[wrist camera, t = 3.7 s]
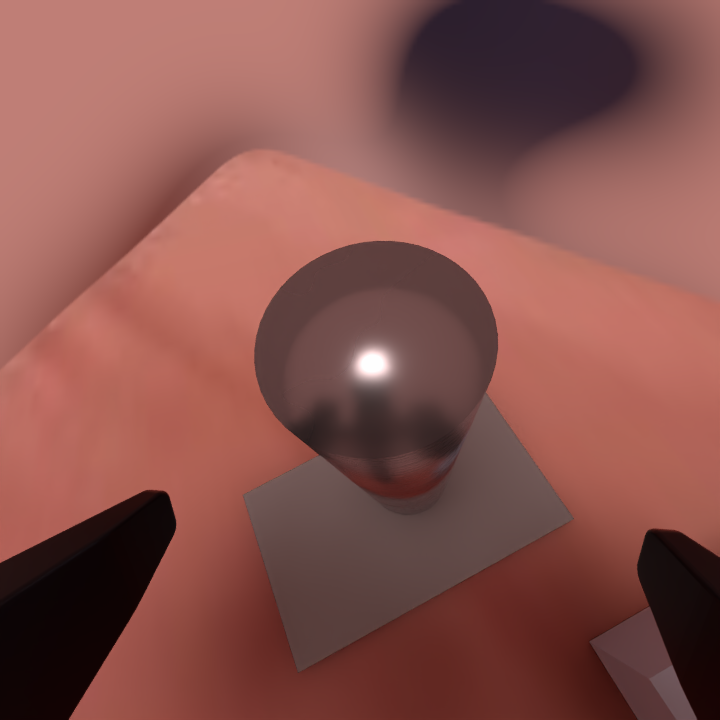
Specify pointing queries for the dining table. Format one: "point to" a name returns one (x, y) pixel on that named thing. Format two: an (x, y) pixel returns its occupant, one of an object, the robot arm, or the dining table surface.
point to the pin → (380, 365)
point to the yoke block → (643, 669)
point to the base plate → (393, 538)
